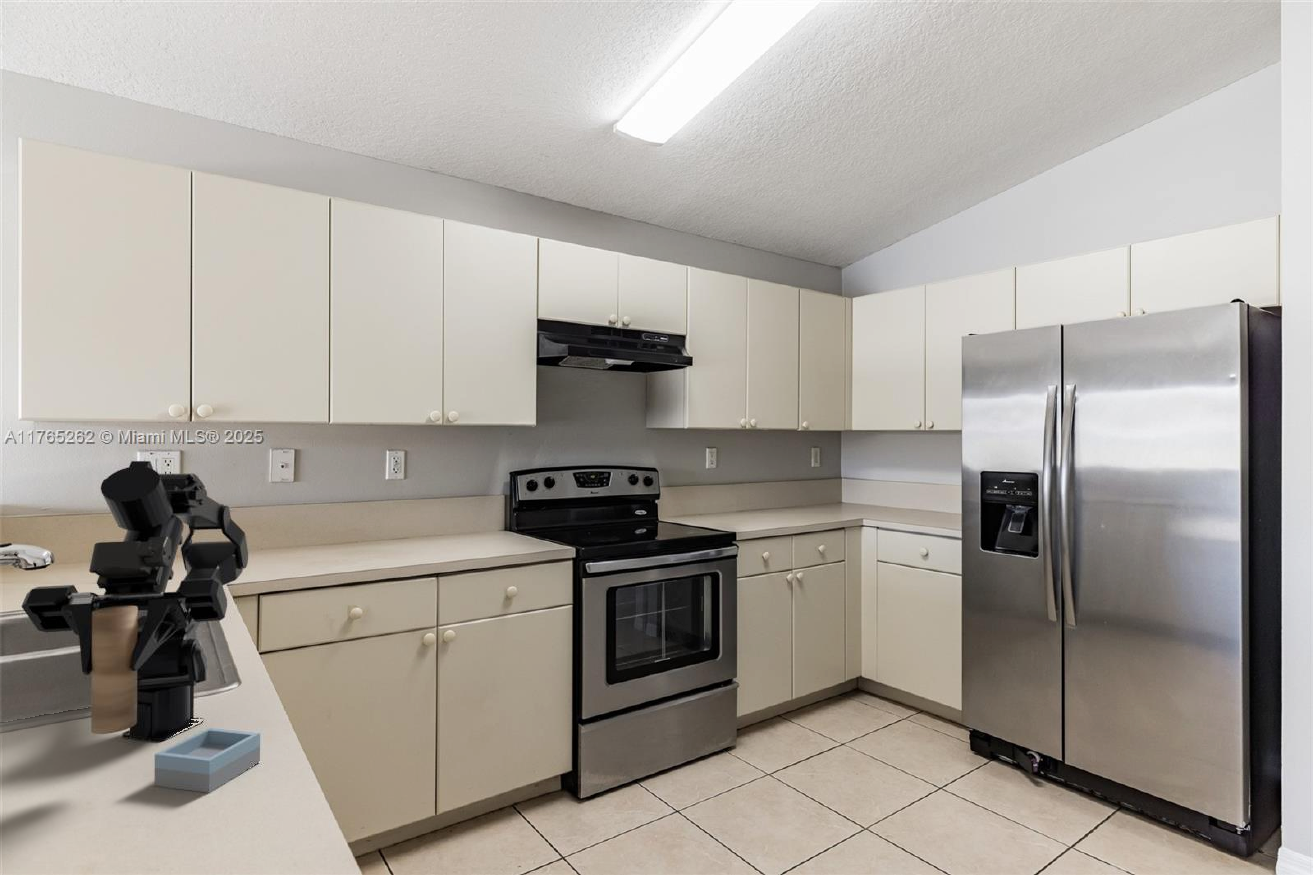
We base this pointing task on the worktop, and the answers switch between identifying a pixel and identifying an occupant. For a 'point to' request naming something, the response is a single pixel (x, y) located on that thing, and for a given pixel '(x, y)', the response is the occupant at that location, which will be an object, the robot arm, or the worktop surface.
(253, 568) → the worktop surface
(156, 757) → the light blue open box
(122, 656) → the pillar
